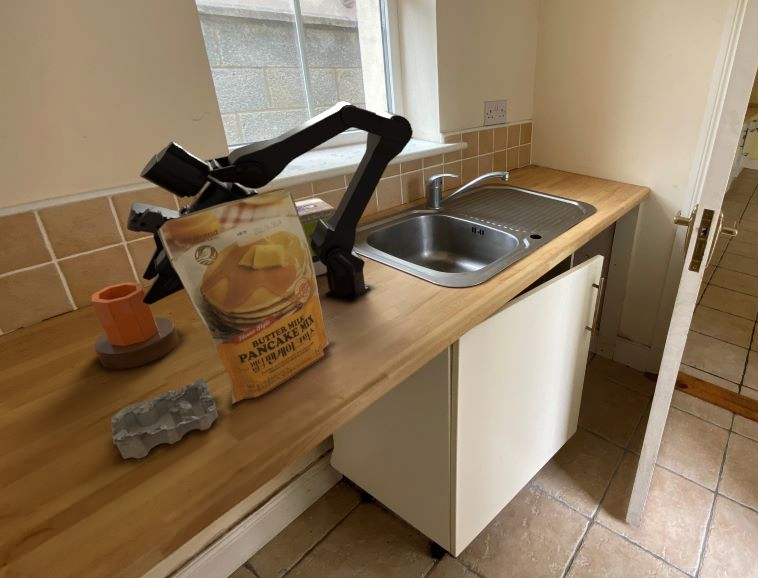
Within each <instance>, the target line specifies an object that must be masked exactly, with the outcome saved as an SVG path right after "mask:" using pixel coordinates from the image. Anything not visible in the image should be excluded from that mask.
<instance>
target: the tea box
mask: <svg viewBox="0 0 758 578" xmlns="http://www.w3.org/2000/svg"><path fill="white" fill-rule="evenodd" d="M295 204H296V206H297V209H298V213H299V217H300V220H301V222H302V225H303V228H304V231H305V234H306V237H307V240H308V243H309V247H310V250H311V256H312V262H313V265H314V268H315V275H316V277H317V276H320V275H324V274H326V272H327V268H326V267H327V266H325V265H324V264H322V263H321V261H320V260H319V258H318V257H317V256H316V254H315V253H314V252H313V250H312V248H311V241H312V239H311V237H310V235H311V234H312V233H313V232H314V230H315V228H316V225H317V222H318V220H319V219H321V220H323V221H325V222H326V221H327V220H329V219H330V218H331V217H332V216H333V215H334V214H335V212H336V210H337V208H335V207H333V206H332V205H330V204H329V203H327V202H325V201H324V200H323V199H321V198H320V197H314V198H313V197H312V198H309V199H308V198H307V199H304V200H298V201H295Z"/></svg>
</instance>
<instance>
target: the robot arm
mask: <svg viewBox="0 0 758 578" xmlns="http://www.w3.org/2000/svg"><path fill="white" fill-rule="evenodd" d="M352 128H353V129H357V130H360V131H363V132H366V133H367V135H366V146H365V151H364V154H363V156H362V157H361V160H360V162H359V164H358V166H357V168H356V170H355V172H354V174H353V176H352V177H351V180H350V182H349V184H348V186H347V188H346V189H345V192H344V194H343V196H342V197H341V199H340V201H339V204H338V206H337V208H336V212H335V214H334V215H333V216H332V217H331V218H330V219H329V220H327V221H326V222H325V221H323V220H321V219H319V220H318V222H317V225H316V228H315V230H314V232H313V233H312V234H311V235H310V237H311V239H312V241H311V248H312V250H313V252H314V253H315V254H316V256H317V257H318V258H319V260H320V261H321V263H322V264H324V265H325V266H327V267H326V268H327V272H326V273H325V276H326V281H327V286H328V290H329V291H327V292H326V293H325V294H324V295H325V297H326V298H330V299H333V300H339V301H344V302H348V303H349V302H350V303H353V302H355V301H356V300H357V299H358V298H359V297H361V296H362V295H363V294H365V293H366V292H367V291H369V289H371V285H370V284H367V283H365V275H364V268H365V264H366V263H365V262H366V261H365V260H364V259H363V258H362V257H361V256H360V255H359V254H358V253H357V251H355V250H354V247H355V244H356V231H357V227H358V225H359V222H360V221H361V218H362V216H363V214H364V213H365V211H366V209H367V206H368V205H369V203H370V201H371V199H372V197H373V195H374V193H375V191H376V189H377V186H378V185H379V183H380V181H381V179H382V177H383V175H384V173H385V171H386V169H387V167H388V165H389V164H390V162H392V161H393V160H394V159H395V158H396V157H398V156H399V155H400V154H401V153H402V152H403V150H404V149H405V148H406V147H407V145H408V144H409V143H410V141H411V139H412V137H413V135H414V134H413V132H414V131H413V128H412V124H411V122H410V121H409V119H407V118H406V117H404V116H402V115H400V114H397V113H394V112H391V111H389V110H382V111H380V112H379V111H378V112H374V111H372V110H368V109H365V108H361V107H359V106H356V105H354V104H352V103H350V102H347V101H340V102H337V103H336V104H335V105H334V106H333V107H331V108H329V109H327V110H325V111H324V112H322V113H320V114H318V115H316V116H314V117H312V118H310V119H309V120H307V121H305V122H303V123H300V124H299V125H297V126H295V127H293V128H292V129H290V130H288V131H285V132H284V133H282V134H280V135H277V136H276V137H273V138H270V139H266V140H261V141H260V140H259V141H256V142H253V143H249V144H246V145H243V146H240V147H237V148H234V149H233V150H232V151H231V152H230V153H229V154H228V155H224V156H220V157H216V158H211V159H206V160H203V159H201V158H200V157H197V156H196V155H194V154H193V153H191V152H190V151H187V150H186V149H185V148H184V147H183V146H181V145H180V144H178V143H176V142H175V141H170V142H169V143H168V145H166V146H165V147H164V148H163V149H161V150H160V151H159V152H158V153H155V154H154V155H153V156H152V157H151V158H150V159H149V161H148V162H147V164H145V166H144V167H143V168H142V171H141V172H140V174H139V177H140V178H142V179H144V180H145V181H148V182H150V183H152V184H154V185H155V186H156V187H159V188H161V189H163V190H165V191H167V192H168V193H171V194H173V195H175V196H176V197H178V198H180V199H184V198H185V197H187V198H191V197H195V196H197V195H198V194H199V193H200V194H199V195H198V196H197V197H196V198H195V199H194V201H193V202H192V203H191V204H190V205H189V204H186V205H182V206H181V208H180V209H179V210H174V209H170V208H166V207H162V206H157V205H151V204H147V203H141V202H132V203H131V206H130V209H129V214H128V218H127V222H126V229H127V230H128V231H131V232H134V233H141V232H143V233H150V234H152V236H153V240H154V243H155V246H156V247H155V249H154V251H153V253H152V255H151V257H150V260H149V262H148V264H147V266H146V268H145V270H144V273H143V274H142V279H144V280H147V281H151V280H152V279H153V281H152V283H151V284H150V286H149V288H148V290H147V292H146V295H145V297H144V299H143V302H144V303H146V304H149V305H153V304H155V303H157V302H159V301H162V300H163V299H165V298H167V297H170V296H171V295H174V294H175V293H177V292H180V291H182V290H185V288H184V286H183V284H182V282H181V279H180V277H179V275H178V274H177V273H176V271H175V270H174V268H173V267H172V265H171V263H170V260H169V258H168V256H167V254H166V251H165V249H164V247H163V244H162V242H161V239H160V237H159V234H158V232H157V231H158V230H159V229H160V228H161V227H162V226H163V225H164V224H165V222H166V221H169V220H172V219H175V218H178V217H180V216H184V215H187V214H190V213H193V212H196V211H199V210H203V209H206V208H209V207H213V206H216V205H219V204H223V203H226V202H231V201H235V200H240V199H245V198H248V197H252V196H255V195H258V194H259V193H258V191H257V190H258V189H261V188H264V187H266V186H267V185H268V184H270V183H271V182H272V181H273V180H274V179H276V178H277V177H278V176H280V175H281V173H283V171H284V170H285V169H286V168H287V166H288V165H290V163H292V162H293V161H295V159H297V158H299V157H301V156H303V155H304V154H306V153H309V152H310V151H312V150H313V149H316V148H317V147H319V146H321V145H322V144H325V143H326V142H329V141H330V140H332V139H333V138H335V137H337V136H339V135H341V134H342V133H344V132H346V131H348V130H349V129H352ZM208 182H209V183H208ZM207 183H208V184H207ZM205 186H206V187H205ZM245 188H246V189H245ZM202 189H203V190H202ZM247 189H250V190H247Z"/></svg>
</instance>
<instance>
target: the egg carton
mask: <svg viewBox="0 0 758 578" xmlns="http://www.w3.org/2000/svg"><path fill="white" fill-rule="evenodd" d="M208 386H209V385H208V384H207V382H206V381H205V380H204V378H203V377H200V378H199V379H197V380H196V381H195V380H194V382H191V383H189V384H188V385H187V386H185V387H178V388H177V390H168V391H165V392H164V393H162V394H160V395H157V396H154V397H152V398H149V399H147V400H144V401H140V402H136V403H131V404H129V405H126V406H124V407H122V408H121V409H120V410H119V411H118V412H117V413H116V414H114V415H113V416H112V418H111V419H110V425H111V431H112V443H113V444H114V445H116V447H117V448H118V450H119V452H120V454H121V456H122V459H123V460H126V459H129V458H130V459H131V458H135V459H141V458H144V457H146V456H148V454H149V452H150V451H151V449H153V448H155V447H156V446H158V445H161V444H170V445H173V444H174V443H177V442H178V441H179V442H180V440H182V438H183V436H184V435H185V434H186V433H188V432H190V431H193V430H200V431H204V430H208V429H209V428H211V426H212V424H213V422H214V421H216V419H218V417H219V414H218V412H217V408H218V407H217V404H216V402H215V400H214V398H213V395H212V393H211V391H210V389H209V387H208Z"/></svg>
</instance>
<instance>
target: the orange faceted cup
mask: <svg viewBox="0 0 758 578" xmlns="http://www.w3.org/2000/svg"><path fill="white" fill-rule="evenodd" d="M146 293H147V292H146V289H145V287H144V284H143V283H141V282H131V281H129V282H128V281H127V282H121V283H117V284H113V285H108V286H105V287H104V288H102V289H100V290H98V291H96V292H94V293H92V294H91V303H92V306H93V308H94V311H95V313H96V315H97V317H98V319H99V321H100V324H101V326H102V328H103V330H104V333H106V335H107V337H108V339H109V342H110V344H111V345H119V346H128V345H131V344H135V343H138V342H142V341H145V340H147V339H149V338H150V337H152V336H153V335H155V334H156V333H158V331H159V329H158V323H157V321H156V318H155V317H156V316H155V313H154V310H153V308H152V304H150V305H149V304H146V303H144V302H143V299H144V297H145V295H146Z"/></svg>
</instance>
